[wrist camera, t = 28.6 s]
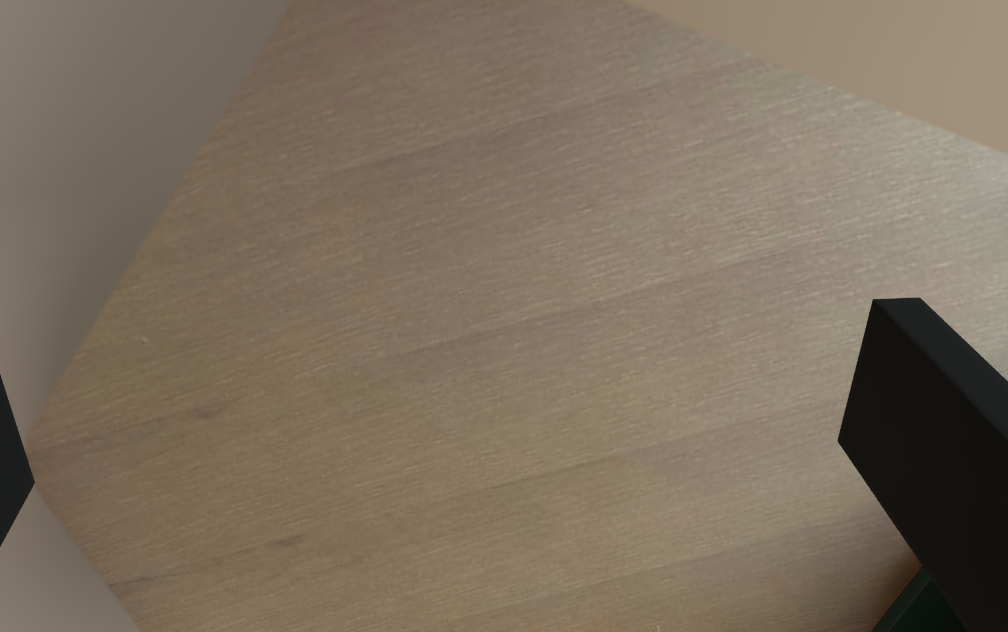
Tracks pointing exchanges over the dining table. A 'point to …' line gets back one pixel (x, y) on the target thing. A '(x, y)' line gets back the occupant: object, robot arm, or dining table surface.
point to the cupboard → (920, 610)
